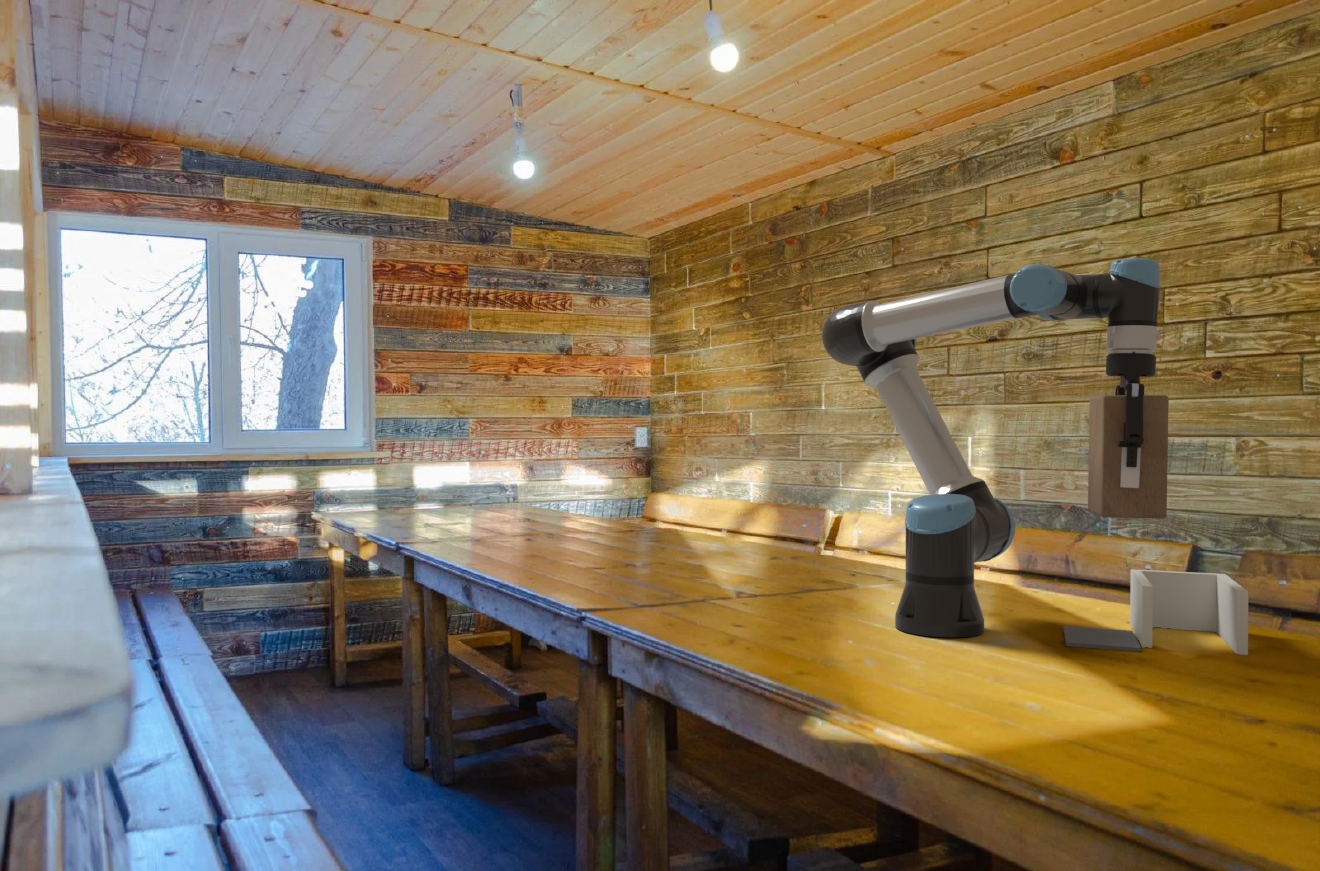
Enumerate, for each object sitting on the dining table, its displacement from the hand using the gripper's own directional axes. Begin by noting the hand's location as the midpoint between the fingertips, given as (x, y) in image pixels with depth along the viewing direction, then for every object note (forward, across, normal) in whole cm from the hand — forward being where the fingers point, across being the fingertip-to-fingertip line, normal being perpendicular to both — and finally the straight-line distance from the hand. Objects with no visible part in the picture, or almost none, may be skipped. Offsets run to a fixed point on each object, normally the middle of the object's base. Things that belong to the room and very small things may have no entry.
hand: (1124, 485), depth 164 cm
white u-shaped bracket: (+26, +3, -11) cm, 28 cm away
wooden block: (+5, 0, 0) cm, 5 cm away
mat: (+26, -2, +3) cm, 26 cm away
